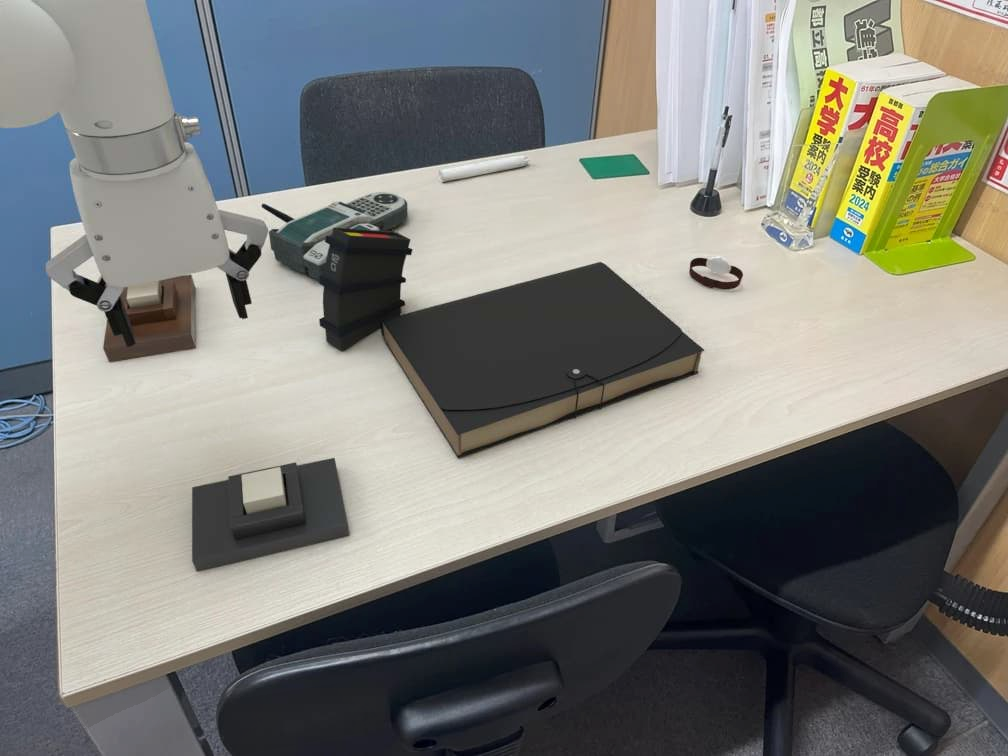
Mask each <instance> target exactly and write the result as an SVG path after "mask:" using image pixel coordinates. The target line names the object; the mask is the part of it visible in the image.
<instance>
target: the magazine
mask: <svg viewBox="0 0 1008 756" xmlns="http://www.w3.org/2000/svg"><path fill="white" fill-rule="evenodd" d="M325 242H326V243H328V244H330V245H329V249H328V254H327V258H326V267H325V275H323V276H320V277H319V280H318V284H319V285H321V286H323V291H322V293H323V294H322V310H323V317H321V318H319V326H320V327H321V328H322V329H324V330H325V340H326V342H327V343H328V344H329V345H331V346H333V347H334V348H336V349H338V350H339V351H345V350H346V349H348V348H349V347H351V346H352V345H354V344H357V342H359V341H361V340H362V339H364V338H365V337H367V336H369V335H371V334H372V333H374V332H375V331H377V330H380V321H381V320H384V319H387V318H391V317H395V316H399V315H402V308H403V307H405V306H406V301H405V300H404V299H402V298H401V291H402V284H404V283H406V282H407V278H406V277H405V276H403V270H404V266H405V261H406V258H407V256H411V255H412V254H413V249H412V248H410V243H411V239H410V238H409V237H407V236H405V235H403V234H400V233H398V232H396V231H390V230H387V231H378V230H364V229H350V228H336V227H334V228H333V232H332V236H326V239H325Z"/></svg>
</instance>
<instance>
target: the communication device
mask: <svg viewBox="0 0 1008 756" xmlns="http://www.w3.org/2000/svg"><path fill="white" fill-rule="evenodd" d="M261 208H262V209H264V210H265V211H267V212H269V213H270V214H271V215H273V216H275V217H276V218H278V219H279V220H281V221H282V222H285V223H284V225H282V226H281V227H280V228H271V229H270V230H268V237H269V243H270V250H271V251H273V255H274V259H275V260H276V261H277V262H279V263H281V264H283V265H286V266H287V267H290V268H292V269H294V270H296V271H299V272H300V273H303V274H308V276H310V277H311V278H314V279H316V280H318V281H319V277H320V276H323V275H325V267H326V258H327V254H328V249H329V245H330V244H328V243H326V242H325V239H326V236H332V232H333V228H334V227H336V228H350V229H364V230H378V231H390V230H391V229H393V228H395V227H397V226H399V225H401V224H402V223H403V222H404V221H405V220H406V219H407V218H408V215H409V214H408V202H407V200H406V199H405V198H404V197H402V196H401V195H399V194H396V193H393V192H387V191H376V192H374V191H373V192H370V193H366V194H365V195H362V196H359V197H358V198H357V197H356V198H355V199H353V200H351V201H348V202H342V201H332V202H331V203H330V204H328V205H326V206H323V207H321V208H318V209H316V210H314V211H311V212H309V213H307V214H303V215H302V216H299V217H297V218H294V217H292V216H291V215H288V214H286V213H284V212H282V211H280V210H278V209H276V208H274V207H272V206H270V205H268V204H267V203H262V204H261Z"/></svg>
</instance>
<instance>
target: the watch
mask: <svg viewBox="0 0 1008 756" xmlns="http://www.w3.org/2000/svg"><path fill="white" fill-rule="evenodd" d="M694 267H705V268H707V269H708V270H709V271H710V272H711V273H713V274H715V275H718V276H724V275H726V274H730V275H733V276H734V277H736V278H737V280H733V281H721V280H719V279H713V278H711V277H709V276H703V275H701V274H700V273H698V272H696V271H695V270H694V269H693V268H694ZM688 273H689V276H690V278H691V279H692V280H694V281H695V282H697V283H699V284H700V285H702V286H704V287H707V288H710V289H717V290H723V291H725V290H726V291H728V290H733V289H736V288H738V287H739V286H741V285H740V284H741V282H742V279H743V277H744V273H743V271H742V270H741V269H740V268H739V267H737V266H734V265H732V264H731V262H730V261H729V260H728V259H726V258H725V257H723V256H721V255H719V256H718V255H717V256H712V257H710V258H707V257H706V258H705V257H695V258H693V259H691V261H690V263H689V272H688Z"/></svg>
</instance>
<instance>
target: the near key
mask: <svg viewBox="0 0 1008 756" xmlns="http://www.w3.org/2000/svg"><path fill="white" fill-rule="evenodd" d="M242 491H243V504H244V507H245V510H246V513H247V515H248V514H252V513H257V512H262V511H266V510H271V509H275V508H280V507H284V506H287V505H286V497H285V489H284V481H283V476H282V472H281V468H280V467H277V468H272V469H267V470H263V471H258V472H253V473H248V474H243V475H242Z"/></svg>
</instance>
